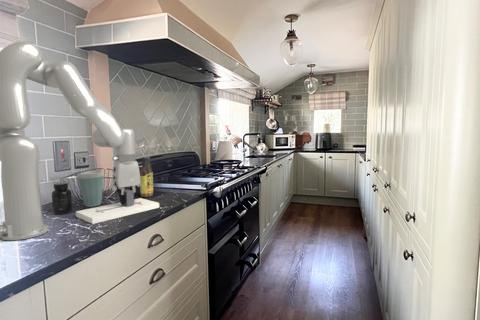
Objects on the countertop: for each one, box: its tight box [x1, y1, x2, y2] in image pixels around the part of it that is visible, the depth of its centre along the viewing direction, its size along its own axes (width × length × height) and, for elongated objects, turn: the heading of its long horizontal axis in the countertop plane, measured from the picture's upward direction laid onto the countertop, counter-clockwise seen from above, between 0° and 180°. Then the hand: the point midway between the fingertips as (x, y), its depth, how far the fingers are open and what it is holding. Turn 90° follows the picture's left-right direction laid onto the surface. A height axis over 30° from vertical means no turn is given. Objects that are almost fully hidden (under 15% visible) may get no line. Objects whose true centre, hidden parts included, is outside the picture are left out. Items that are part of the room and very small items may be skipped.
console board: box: [75, 197, 160, 225], centre depth 118 cm, size 28×14×2 cm, turn 141°
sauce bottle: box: [139, 156, 154, 198], centre depth 145 cm, size 6×6×20 cm
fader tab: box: [121, 188, 135, 206], centre depth 120 cm, size 3×5×6 cm, turn 51°
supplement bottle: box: [51, 181, 74, 216], centre depth 117 cm, size 7×7×12 cm
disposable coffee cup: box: [77, 169, 105, 208], centre depth 128 cm, size 11×11×15 cm
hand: (127, 202), depth 120 cm, fingers closed on fader tab, 3 cm apart
